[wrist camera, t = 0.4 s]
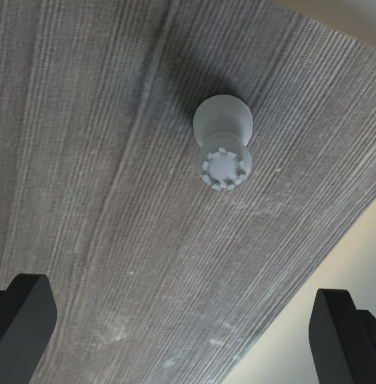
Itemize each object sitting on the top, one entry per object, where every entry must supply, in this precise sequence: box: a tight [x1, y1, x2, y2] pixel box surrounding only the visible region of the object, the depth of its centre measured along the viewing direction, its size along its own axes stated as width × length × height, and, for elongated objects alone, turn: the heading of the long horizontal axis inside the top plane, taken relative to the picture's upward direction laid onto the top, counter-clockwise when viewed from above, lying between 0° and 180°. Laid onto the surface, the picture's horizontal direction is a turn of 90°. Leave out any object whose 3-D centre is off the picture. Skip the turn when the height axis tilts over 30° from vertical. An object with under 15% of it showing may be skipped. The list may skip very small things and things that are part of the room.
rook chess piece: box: [193, 95, 253, 190], centre depth 23 cm, size 4×4×8 cm
